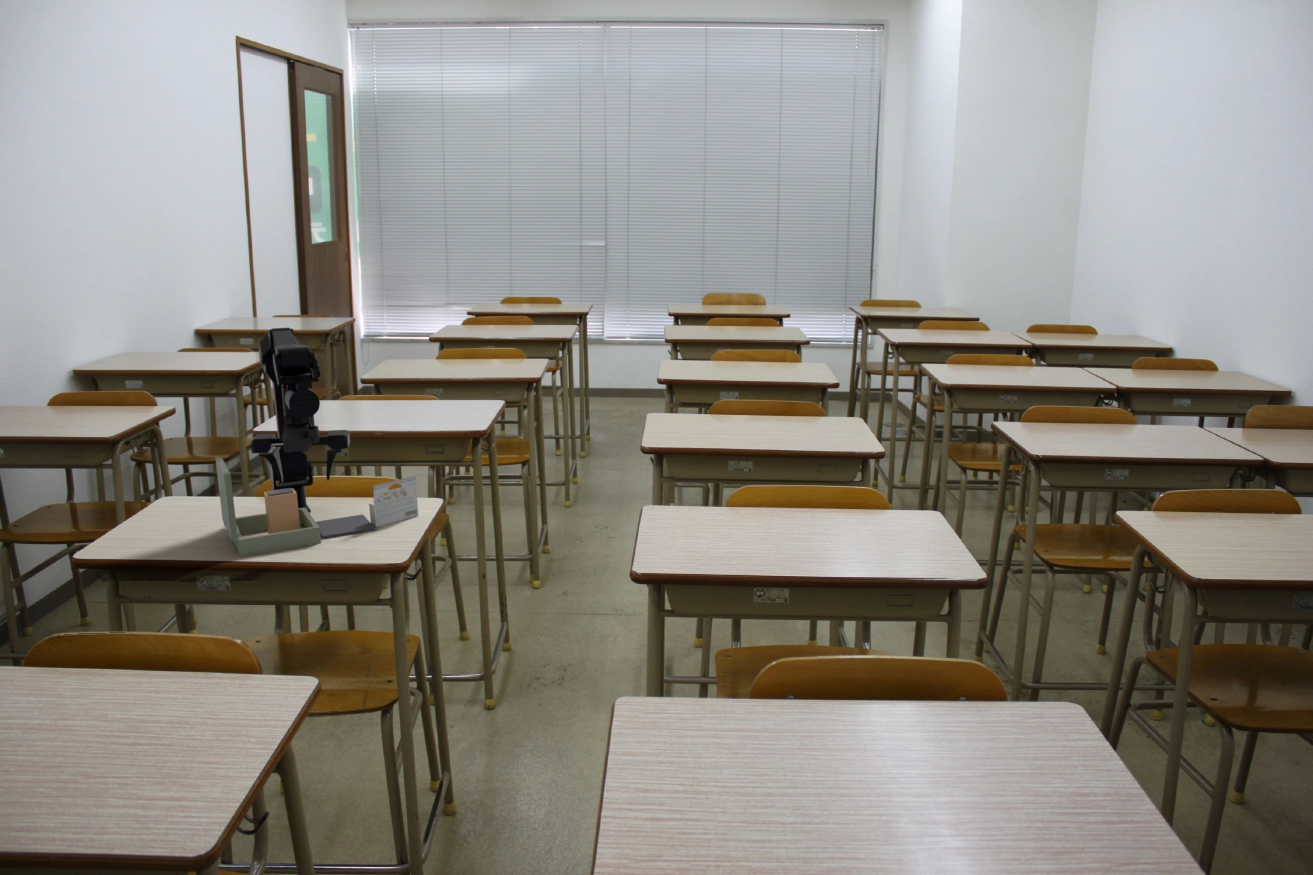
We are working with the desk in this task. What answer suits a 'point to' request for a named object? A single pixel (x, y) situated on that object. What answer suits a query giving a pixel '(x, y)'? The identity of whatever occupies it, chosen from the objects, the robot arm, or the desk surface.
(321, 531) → the rubber mat
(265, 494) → the box
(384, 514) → the ink cartridge box
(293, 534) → the case
